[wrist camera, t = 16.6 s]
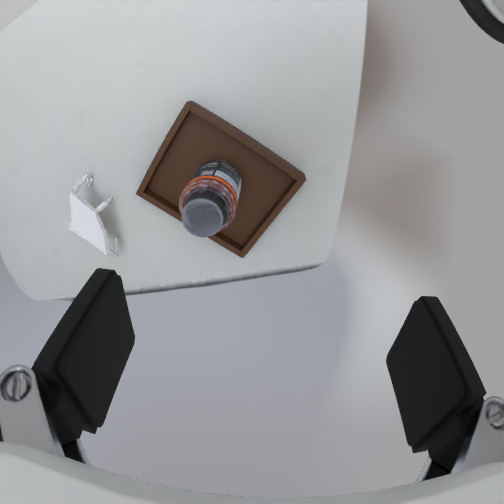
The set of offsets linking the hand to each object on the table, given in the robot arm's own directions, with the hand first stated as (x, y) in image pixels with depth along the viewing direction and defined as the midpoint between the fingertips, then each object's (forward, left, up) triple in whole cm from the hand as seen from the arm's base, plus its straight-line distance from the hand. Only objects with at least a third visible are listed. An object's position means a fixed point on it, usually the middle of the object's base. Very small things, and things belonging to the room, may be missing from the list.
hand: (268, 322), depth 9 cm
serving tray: (+2, +8, -30) cm, 31 cm away
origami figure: (+14, +22, -31) cm, 40 cm away
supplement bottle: (+2, +8, -30) cm, 31 cm away
